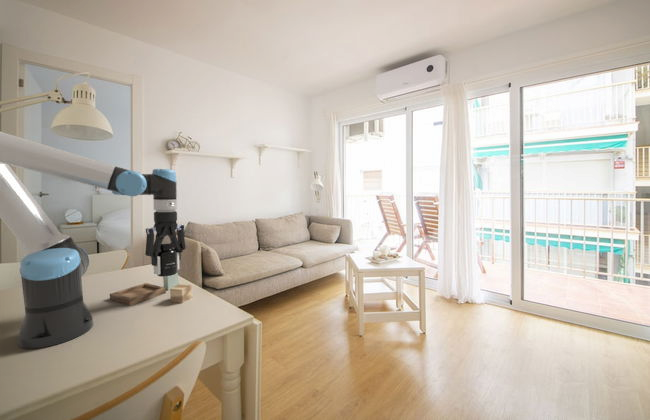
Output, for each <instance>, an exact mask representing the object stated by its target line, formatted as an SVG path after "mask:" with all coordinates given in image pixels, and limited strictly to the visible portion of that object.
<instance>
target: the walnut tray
mask: <svg viewBox="0 0 650 420" xmlns="http://www.w3.org/2000/svg"><path fill="white" fill-rule="evenodd" d="M166 293H167V289H166V288H164V286H160V285H156V284H151V283H147V282H144V283H140V284H138V285H134V286H132V287H129V288H124V289H122V290H118V291H115V292H112V293H110V294H109V300H111V301H114V302H117V303H120V304H123V305H126V306H129V307H130V306H133V305H136V304H138V303H142V302H144V301H147V300H150V299H153V298H155V297H159V296H160V295H164V294H166Z"/></svg>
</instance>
